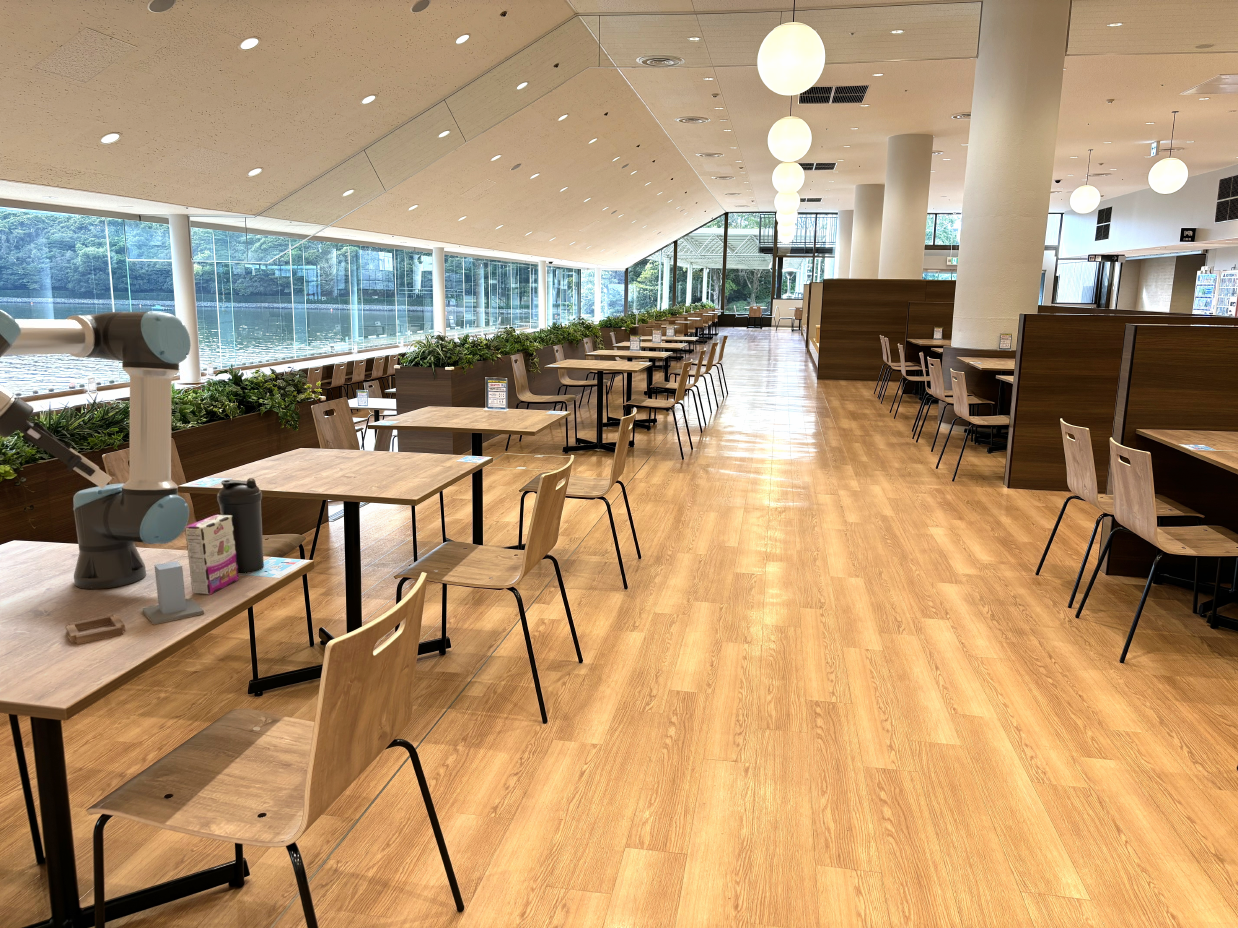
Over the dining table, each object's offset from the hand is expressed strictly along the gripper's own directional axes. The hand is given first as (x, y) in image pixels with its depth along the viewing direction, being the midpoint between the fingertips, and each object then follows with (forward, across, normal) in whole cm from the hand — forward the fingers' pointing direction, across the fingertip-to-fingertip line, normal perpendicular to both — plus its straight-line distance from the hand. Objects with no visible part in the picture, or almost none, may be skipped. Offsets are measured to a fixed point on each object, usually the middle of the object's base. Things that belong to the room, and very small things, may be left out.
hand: (100, 477), depth 175 cm
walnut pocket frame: (+19, +2, -26) cm, 32 cm away
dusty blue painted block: (+29, 0, -14) cm, 33 cm away
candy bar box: (+39, -12, -6) cm, 41 cm away
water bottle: (+46, -22, +1) cm, 51 cm away
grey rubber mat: (+30, 0, -15) cm, 33 cm away
